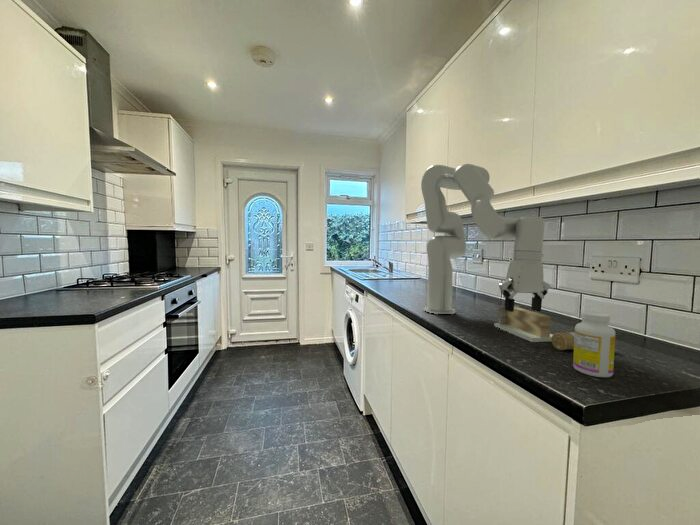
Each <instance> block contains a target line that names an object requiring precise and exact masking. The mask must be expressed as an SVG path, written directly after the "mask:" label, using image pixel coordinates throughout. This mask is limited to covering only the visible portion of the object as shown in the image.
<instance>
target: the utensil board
mask: <svg viewBox="0 0 700 525" xmlns="http://www.w3.org/2000/svg"><path fill="white" fill-rule="evenodd" d="M494 326H495V328H497V327H498V328H497V329H499V328H500V329H499V330H501V331H504V332H506V331H507V332H506V333H509V334H512V335H514V336H516V337H519V338H521V339H524V340H526V341H529V342H530V343H541V342H542V343H544V342H552V341H551V338H552V336H553V334H554V333H553V334H552V333H550V337H538V336H536V335H533V334H530V333H528V332H525V331H523V330H520V329H517V328H515V327H512V326H509V325H507V324H499V322H494V324H493V327H494Z"/></svg>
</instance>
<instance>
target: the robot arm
mask: <svg viewBox="0 0 700 525" xmlns="http://www.w3.org/2000/svg"><path fill="white" fill-rule="evenodd" d="M489 182H490V173H489V171H488V170H487V169H486V168H485V167H482V166H480V165H479V166H478V165H475V164H471V163H464V164H461V165H459V166H457V167H455V168H454V167H452V166H447V165H443V164H434V165H431V166H429V167H428V168H427V169H426V170H425V171H424V173H423V176H422V178H421V182H420V184H421V185H420V187H421V188H420V189H421V192H422V193H421V194H422V198H423V201H424V209H425V216H426V217H425V218H426V224H427V228H428V230H429V231H430V232H431V233H433V234H444V235H435V236H433V237H431V238H430V239H429V240H428V241H427V245H426V254H427V261H428V264H427V265H428V272H427V274H428V278H427V283H428V284H427V299H426V303H427V306H424V307H423V312H425V311H426V312H425V313H427V312H429V313H428V314H431V313H434V314H433V315H438V314H451V315H454V314H455V313H456V309H455V308H452V300H453V297H452V296H453V264H452V261H451V259H452V260H453V259H459V258H461V257H463V256H464V255H465V253H466V251H467V242H466V234H465V229H464V228H465V227H464V221H463V218H462V217H461V216H460V215H459V213H456V212H453V211H450V210H448V208H447V201H446V198H445V195H444V193H443V192H442V189H447V190H454V191H455V190H456V191H461V192H462V193H463V195H464V196H465V198H466V199H467V201H468V202H469V204H470V211H471V216H472V219H473V222H474V223H475V224H476V226H477V227H478V229H479V230H480V232H481V233H482V234H483V235H484V236H485V237H486V238H488V239H490V240H497V241H514V244H513V254H512V255H513V257H512V260H510V262H509V265H508V267H507V272H506V278H505V280H504V281H502V282H500V283H499V284H498V287H499V289H500V293H501V294H502V295H503V297H504V299H505V300H504V306H505V310H508V311H511V312H513V311H514V306H515V298H514V297H515V296H516V295H517V294H532V298H531V306H530V308H531V311H532V310H534V311H535V312H541V311H542V303H543V299H545V296H546V295H547V294H548V291H549V289H550V288H551V285H550V284H549V283H548V282H546V281H545V280H544V265H543V262H542V258H544V254H543V249H544V248H543V247H544V244H543V243H544V235H545V234H544V232H545V223H546V222H545V219H544V218H543V217H540V216H521V217H518V218H516V217H515V218H513V217H508V216H507V217H506V216H500V214H499V213H498V212H497V211H496V209H494V206H493V205H492V203H491V201H492V199H493V197H494V196H495V190H494V189H493V188H492V186H491V185H490V184H489Z"/></svg>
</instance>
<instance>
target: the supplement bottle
mask: <svg viewBox="0 0 700 525" xmlns="http://www.w3.org/2000/svg"><path fill="white" fill-rule="evenodd" d="M580 314H581V315H580V317H581V320H582V321H581V322H578V323H576V325H575V326H574V332H575V336H574V349H573V358H572V359H573V361H572V362H573V363H572V366H573V368H574V369H575V370H576V371H578V372H580V373H582V374H584V375H587V376H591V377H597V378H611V377H612V376H613V375H614V371H615V370H614V369H615V368H614V365H615V351H616V350H615V349H616V348H615V347H616V346H615V345H616V330H615V329H614V328H613V327H612V326H609V323H610V321H611V315H610V314H608V313H603V312H597V311H589V310H588V311H586V310H585V311H584V310H583V311H581V313H580Z"/></svg>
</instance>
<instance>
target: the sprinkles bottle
mask: <svg viewBox="0 0 700 525" xmlns="http://www.w3.org/2000/svg"><path fill="white" fill-rule="evenodd" d="M574 336H575V331H571V332H569V331H568V332H555V333H553V336H552V338H551V341H550V342H551V344H552V346H553V348H555V349H557V350H558V351H565V350H571V351H572V350H573V351H574Z"/></svg>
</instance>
